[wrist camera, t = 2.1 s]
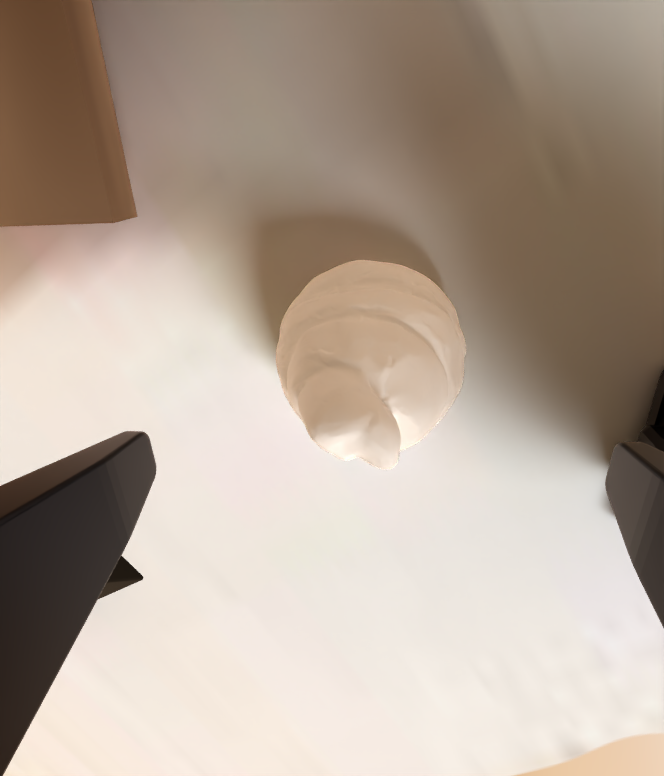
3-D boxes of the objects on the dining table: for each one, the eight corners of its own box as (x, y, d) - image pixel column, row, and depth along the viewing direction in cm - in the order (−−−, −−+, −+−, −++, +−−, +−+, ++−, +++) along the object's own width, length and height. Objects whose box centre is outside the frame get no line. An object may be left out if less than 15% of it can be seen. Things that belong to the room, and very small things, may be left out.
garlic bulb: (219, 507, 11) (251, 281, 9) (274, 391, 16) (303, 231, 14) (447, 562, 11) (544, 353, 9) (427, 428, 16) (484, 276, 14)
